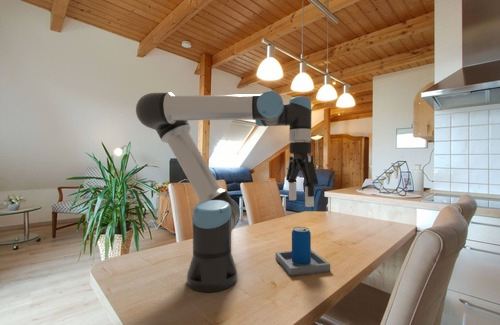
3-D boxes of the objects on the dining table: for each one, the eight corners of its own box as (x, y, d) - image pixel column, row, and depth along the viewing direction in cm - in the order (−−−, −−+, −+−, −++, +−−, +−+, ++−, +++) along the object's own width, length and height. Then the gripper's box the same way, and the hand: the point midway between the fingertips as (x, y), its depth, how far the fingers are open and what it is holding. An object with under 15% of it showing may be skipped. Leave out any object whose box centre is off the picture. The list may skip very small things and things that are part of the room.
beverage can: (311, 267, 80) (311, 232, 80) (291, 266, 81) (291, 231, 81) (310, 260, 86) (310, 226, 86) (292, 258, 87) (291, 226, 87)
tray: (290, 276, 75) (290, 268, 75) (275, 259, 89) (275, 252, 89) (330, 271, 78) (330, 263, 78) (310, 255, 92) (310, 248, 92)
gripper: (329, 139, 72) (329, 209, 72) (295, 144, 97) (295, 197, 97) (306, 138, 71) (306, 210, 71) (278, 144, 95) (278, 198, 95)
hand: (300, 203), depth 84 cm, fingers open, 13 cm apart
